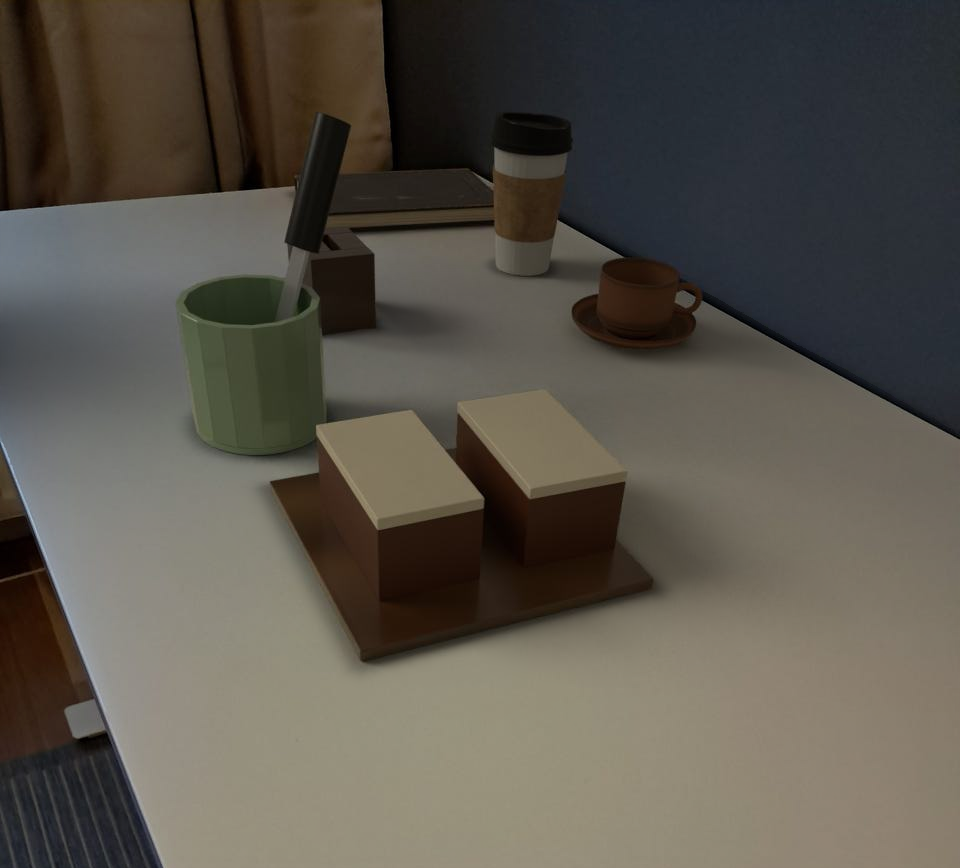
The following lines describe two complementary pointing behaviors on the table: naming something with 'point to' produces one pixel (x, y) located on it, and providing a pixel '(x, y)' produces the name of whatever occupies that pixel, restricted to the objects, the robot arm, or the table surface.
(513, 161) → the coffee cup
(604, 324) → the cup and saucer
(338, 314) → the knife block
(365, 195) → the hardcover book
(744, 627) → the table surface
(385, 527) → the block
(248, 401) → the cup
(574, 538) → the cake slice
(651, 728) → the table surface
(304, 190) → the knife
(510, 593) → the cake board
